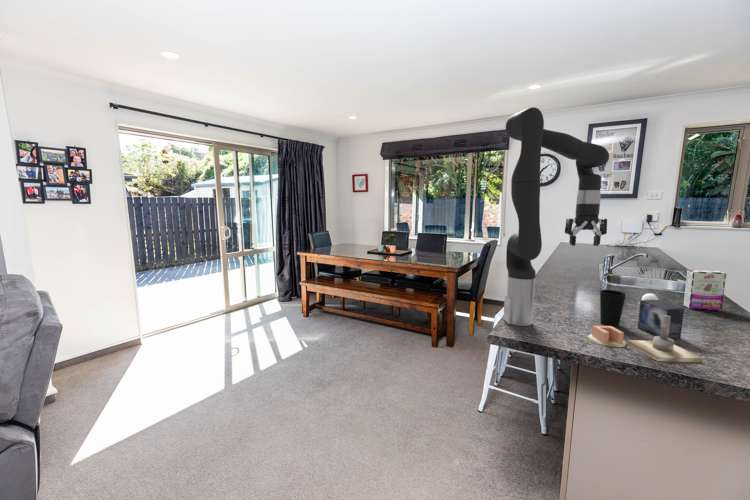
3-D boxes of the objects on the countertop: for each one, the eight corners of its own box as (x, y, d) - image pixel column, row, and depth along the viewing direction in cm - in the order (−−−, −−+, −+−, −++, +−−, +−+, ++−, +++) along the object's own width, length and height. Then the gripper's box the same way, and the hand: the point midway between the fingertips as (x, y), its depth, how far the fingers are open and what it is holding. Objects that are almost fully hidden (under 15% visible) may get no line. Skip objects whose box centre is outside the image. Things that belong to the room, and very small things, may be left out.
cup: (626, 328, 118) (630, 295, 117) (602, 327, 120) (606, 294, 118) (615, 321, 126) (619, 290, 124) (593, 319, 127) (596, 289, 126)
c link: (591, 335, 111) (592, 325, 110) (610, 336, 110) (611, 326, 110) (603, 343, 105) (604, 332, 104) (622, 343, 104) (624, 332, 104)
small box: (635, 327, 120) (638, 299, 118) (652, 327, 120) (655, 299, 119) (663, 339, 109) (667, 308, 108) (681, 339, 110) (685, 308, 108)
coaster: (600, 346, 103) (600, 345, 103) (582, 334, 113) (582, 333, 113) (633, 347, 102) (634, 346, 102) (612, 335, 112) (612, 334, 112)
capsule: (655, 315, 133) (657, 296, 132) (638, 312, 137) (640, 293, 136) (658, 313, 136) (660, 293, 135) (642, 309, 140) (644, 291, 139)
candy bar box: (713, 308, 143) (719, 270, 141) (721, 311, 138) (727, 272, 136) (681, 305, 146) (686, 269, 144) (688, 309, 142) (693, 271, 140)
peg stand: (657, 361, 94) (661, 322, 92) (627, 343, 105) (630, 309, 104) (701, 362, 93) (707, 323, 92) (666, 344, 105) (670, 310, 103)
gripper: (601, 203, 129) (597, 244, 131) (563, 202, 129) (560, 244, 132) (614, 202, 121) (609, 247, 123) (574, 202, 122) (570, 246, 124)
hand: (584, 245), depth 127 cm, fingers open, 8 cm apart
